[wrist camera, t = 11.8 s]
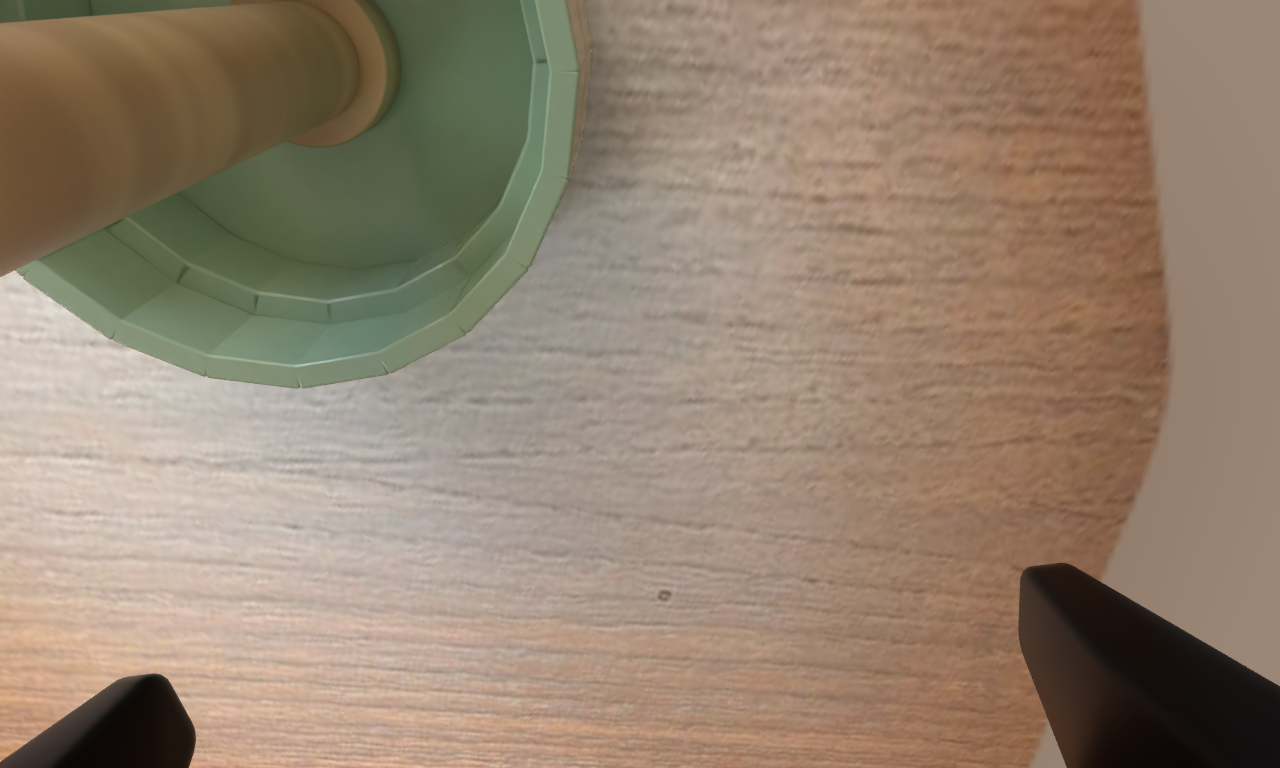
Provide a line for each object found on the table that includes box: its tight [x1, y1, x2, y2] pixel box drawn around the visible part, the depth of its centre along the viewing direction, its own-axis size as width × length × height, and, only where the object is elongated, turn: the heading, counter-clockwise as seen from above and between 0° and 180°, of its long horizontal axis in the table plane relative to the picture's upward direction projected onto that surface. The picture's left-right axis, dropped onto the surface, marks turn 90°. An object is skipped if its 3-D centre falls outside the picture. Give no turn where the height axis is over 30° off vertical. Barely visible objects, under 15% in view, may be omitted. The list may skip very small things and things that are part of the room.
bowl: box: [0, 0, 592, 388], centre depth 16 cm, size 11×11×5 cm
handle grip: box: [0, 0, 401, 277], centre depth 12 cm, size 3×3×12 cm
